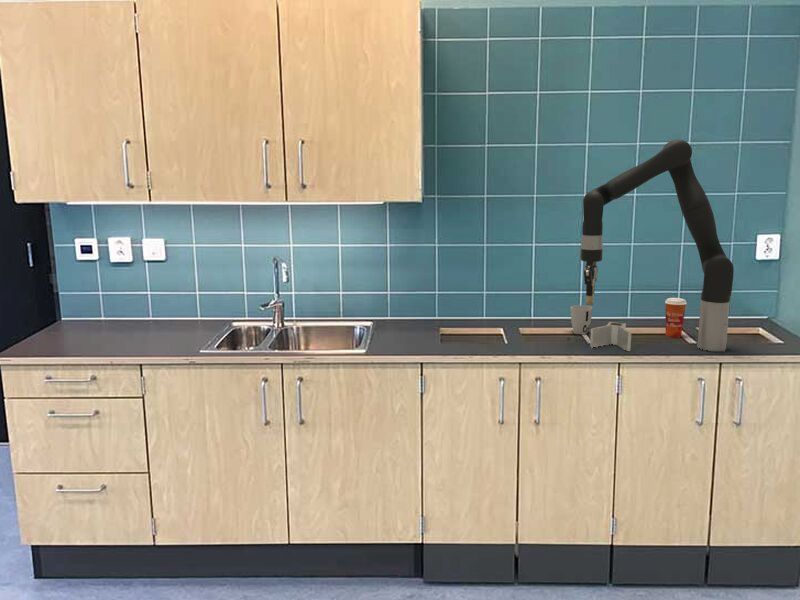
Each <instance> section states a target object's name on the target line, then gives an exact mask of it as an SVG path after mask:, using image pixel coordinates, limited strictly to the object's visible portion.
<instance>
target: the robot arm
mask: <svg viewBox="0 0 800 600" xmlns="http://www.w3.org/2000/svg"><path fill="white" fill-rule="evenodd" d="M692 155H693V148H692V146H691V144H690V143H689V142H688V141H686V140H684V139H673V140H670V141H668V142H667V143H666V144H665V145H664V146H663V148H662V150H660V151H659V152H657V153H656V154H655V155H653V156H652V157H651V158H649V159H647V160H645V161H644V162H642V163H640V164H637V165H636V166H634V167H632V168H629V169H628V170H626V171H624V172H622V173H620V174H618V175H617V176H615V177H613V178H612V179H609V181H607V182H606V183H604V184H602V185H600V186H598V187H596V188H594V189H592V190H591V191H590V190H589V192H587V193H585V195H584V196H583V199H582V209H583V210H582V215H583V216H582V218H583V219H582V226H581V227H582V229H581V230H582V231H581V239H580V240H581V241H580V260H581V262H586V263H585V266H584V269H583V277H584V278H583V279H584V285H585V286H586V288H585V289H586V290H585V296H586V297H587V296H592V295H593V296H594V295H595V292H594V293H593V280H594V288H595V286H596V283H597V278H598V269H599V266H598V265H597V262H601V261H603V252H604V251H603V248H604V247H603V246H604V244H603V243H604V240H603V239H604V238H603V228H604V227H603V216H604V214H603V213H604V206H605V205H608V204H609V203H611V202H613V201H614V200H617V199H621V198H622V197H623V196H625V195H627V194H629V193H630V192H632V191H634V190H635V189H637V188H639V187H641V186H643V184H646V183H647V182H648V181H650V180H651V179H653V178H655V177H657V176H659V175H661V174H663V173H666V172H668V173H669V175H670V177H671V180H672V182H673V185H674V188H675V191H676V192H675V193H676V196H677V200H678V201H677V202H678V204H679V206H680V211H681V213H682V216H683V219H684V221H685V222H684V223H685V225H686V227H687V229H688V231H689V232H690V235H691V237H692V239H693V241H694V243H695V246H696V247H697V251H698V255H699V259H700V263H701V268H702V272H703V284H702V290H701V294H700V295H701V296H700V308H699V318H698V319H699V320H698V321H699V322H698V332H697V333H698V334H697V346H696V347H697V349H699V348H700V349H699V350H702V349H703V351H706V350H708V351H707V352H726V351H725V350H727V340H728V327H729V313H730V301H731V295H732V292H733V284H734V283H733V282H734V281H733V280H734V273H735V271H734V270H735V269H734V265H733V262H732V260H731V259H729V258H728V257H727V255H726V253H725V251H724V249H723V247H722V244H721V243H720V239H719V237H718V232H717V225H716V220H715V219H716V218H715V216H714V212H713V208H712V206H711V204H710V200H709V199H708V196H707V193H706V192H705V190H704V188H703V187H702V185H701V184H700V182H699V180H698V178H697V176H696V174H695V172H694V168H693V164H692V159H691V158H692ZM595 271H596V272H595ZM592 276H593V277H592ZM588 280H590V281H588Z"/></svg>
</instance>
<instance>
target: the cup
mask: <svg viewBox="0 0 800 600" xmlns="http://www.w3.org/2000/svg"><path fill="white" fill-rule="evenodd" d="M592 314H593V307H592V306H591V305H583V304H582V305H581V304H579V305H572V306H570V321H571V326H572V327H571V328H572V332H573V333H574V334H577V335H586V334H585V333H587V334H588V332H589V329H590V327H591V322H592V317H593V315H592Z"/></svg>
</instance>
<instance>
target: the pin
mask: <svg viewBox="0 0 800 600" xmlns="http://www.w3.org/2000/svg"><path fill="white" fill-rule="evenodd" d="M595 272H596V271H595ZM592 277H593V276H592ZM588 281H590V280H588ZM594 285H595V284H594V280H593V293H594V294H595V287H594ZM594 294H593V295H592V296H587V295H586V299H585V300H586V302H585V303H586V305H585V306H593V305H594Z"/></svg>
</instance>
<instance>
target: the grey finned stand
mask: <svg viewBox="0 0 800 600" xmlns="http://www.w3.org/2000/svg"><path fill="white" fill-rule="evenodd" d="M626 327H627V323H625V322H613V321H609V322H608V323H607V324H606V325H602V326H597V327H593V328H590V340H589V341H590V342H589V348H590V347H591V348H590V349H594V348H593V347H596V348H599V347H598V346H601V347H604V346H603V345H606V346H609V344H610V345H611V344H613V345H614V346H618V347H619V348H621V349H622V350H624V351H625V350H626V351H630V352H631V346H632V345H631V344H632V331H630V330H628V329H626ZM613 345H612V346H613ZM626 351H625V352H626Z"/></svg>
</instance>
